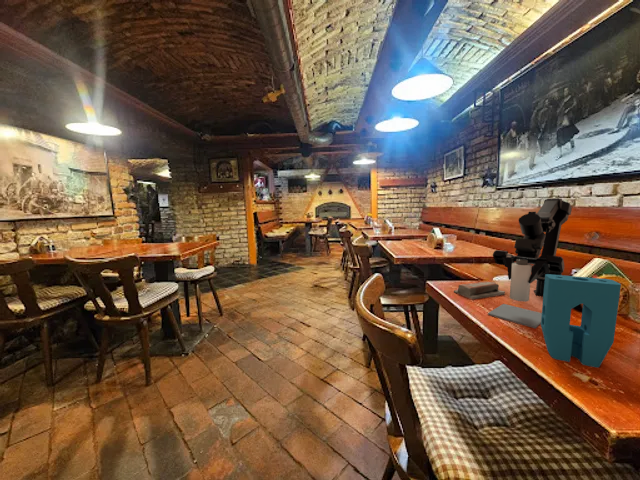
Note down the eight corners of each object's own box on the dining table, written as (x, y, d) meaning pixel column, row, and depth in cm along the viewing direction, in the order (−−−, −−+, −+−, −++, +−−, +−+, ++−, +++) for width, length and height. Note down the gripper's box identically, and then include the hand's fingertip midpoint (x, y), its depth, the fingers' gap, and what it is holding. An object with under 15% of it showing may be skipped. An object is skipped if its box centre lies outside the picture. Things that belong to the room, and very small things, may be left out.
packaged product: (473, 289, 101) (453, 282, 111) (472, 300, 102) (453, 293, 111) (506, 284, 107) (484, 278, 116) (505, 295, 107) (484, 288, 117)
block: (601, 359, 61) (611, 279, 59) (612, 370, 57) (623, 285, 55) (537, 346, 67) (544, 273, 65) (542, 356, 63) (550, 278, 60)
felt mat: (503, 305, 96) (503, 303, 96) (548, 316, 85) (548, 314, 85) (487, 314, 88) (487, 313, 87) (535, 328, 77) (535, 326, 77)
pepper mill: (506, 295, 89) (509, 258, 87) (523, 296, 88) (526, 258, 86) (514, 301, 84) (517, 261, 82) (532, 301, 83) (535, 261, 81)
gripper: (496, 228, 93) (481, 262, 87) (565, 231, 78) (553, 272, 73) (502, 247, 98) (489, 279, 93) (568, 253, 83) (557, 292, 78)
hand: (519, 280), depth 84 cm, fingers closed on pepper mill, 5 cm apart
